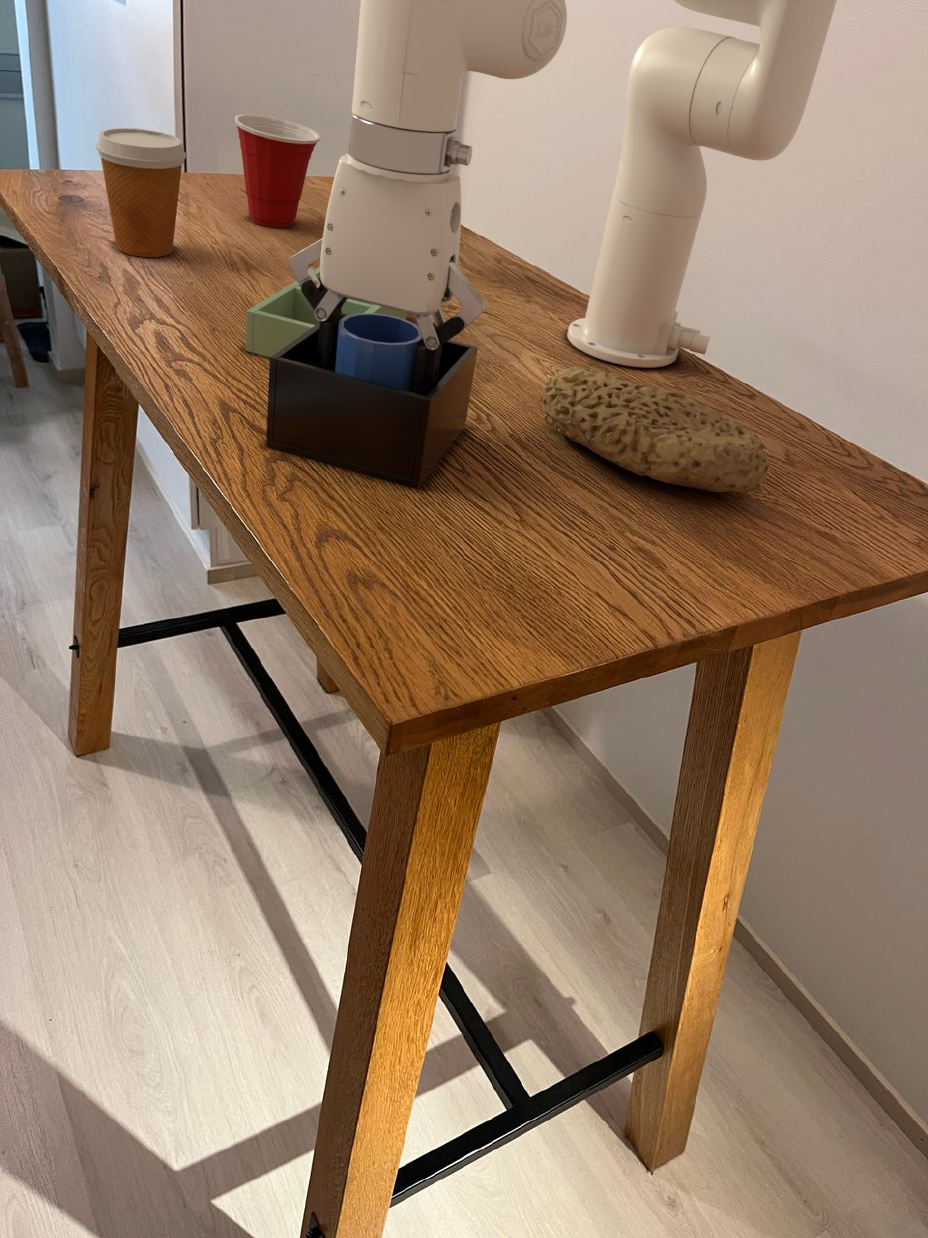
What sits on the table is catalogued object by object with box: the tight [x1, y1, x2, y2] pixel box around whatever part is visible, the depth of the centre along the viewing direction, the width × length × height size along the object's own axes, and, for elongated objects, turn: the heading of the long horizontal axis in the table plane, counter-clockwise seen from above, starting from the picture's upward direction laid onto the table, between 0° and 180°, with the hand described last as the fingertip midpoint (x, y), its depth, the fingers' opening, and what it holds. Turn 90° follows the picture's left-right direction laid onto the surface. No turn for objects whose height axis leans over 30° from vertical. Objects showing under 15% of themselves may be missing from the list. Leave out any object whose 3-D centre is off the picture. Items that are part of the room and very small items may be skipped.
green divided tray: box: [245, 266, 408, 358], centre depth 104 cm, size 10×19×4 cm, turn 163°
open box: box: [265, 313, 479, 489], centre depth 85 cm, size 13×13×8 cm
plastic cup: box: [234, 113, 321, 228], centre depth 131 cm, size 11×11×12 cm
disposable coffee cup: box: [95, 127, 187, 258], centre depth 115 cm, size 10×10×12 cm
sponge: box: [540, 365, 771, 493], centre depth 89 cm, size 13×8×20 cm
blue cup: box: [335, 313, 423, 392], centre depth 84 cm, size 7×7×9 cm
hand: (376, 375), depth 84 cm, fingers open, 7 cm apart
